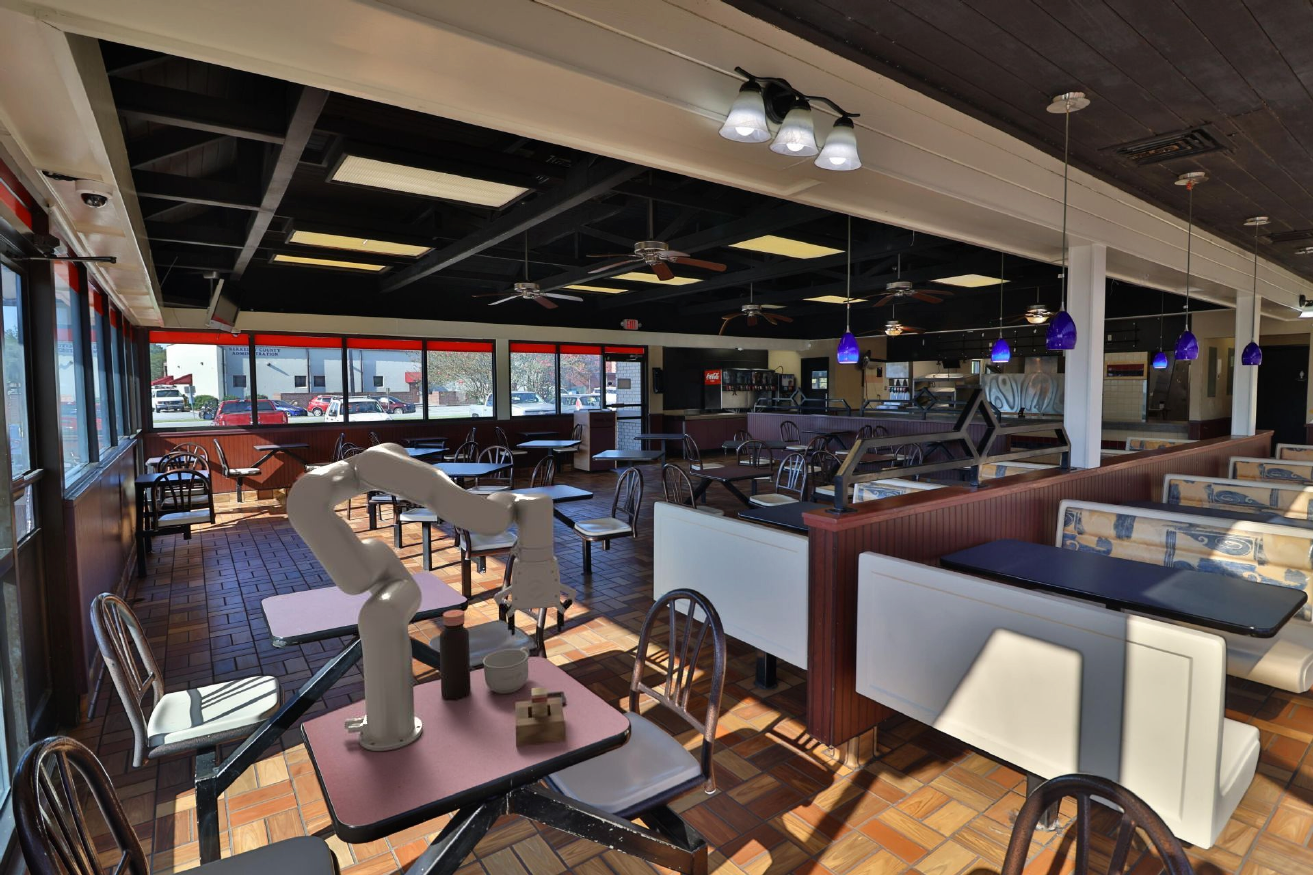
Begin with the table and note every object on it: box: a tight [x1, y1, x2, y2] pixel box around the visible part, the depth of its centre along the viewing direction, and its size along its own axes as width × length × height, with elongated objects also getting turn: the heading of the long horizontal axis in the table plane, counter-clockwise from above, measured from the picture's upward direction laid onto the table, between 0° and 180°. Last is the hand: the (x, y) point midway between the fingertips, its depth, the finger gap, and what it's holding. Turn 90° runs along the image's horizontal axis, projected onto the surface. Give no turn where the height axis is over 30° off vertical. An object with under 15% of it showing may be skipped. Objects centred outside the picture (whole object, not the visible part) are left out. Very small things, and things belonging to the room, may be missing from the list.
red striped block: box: [531, 686, 548, 718], centre depth 142 cm, size 3×3×9 cm
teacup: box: [482, 646, 530, 695], centre depth 163 cm, size 14×11×8 cm
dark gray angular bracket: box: [547, 691, 566, 707], centre depth 155 cm, size 8×6×1 cm
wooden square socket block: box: [514, 697, 566, 747], centre depth 142 cm, size 10×10×4 cm
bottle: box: [438, 609, 472, 701], centre depth 158 cm, size 7×7×20 cm
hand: (536, 631), depth 140 cm, fingers open, 9 cm apart
